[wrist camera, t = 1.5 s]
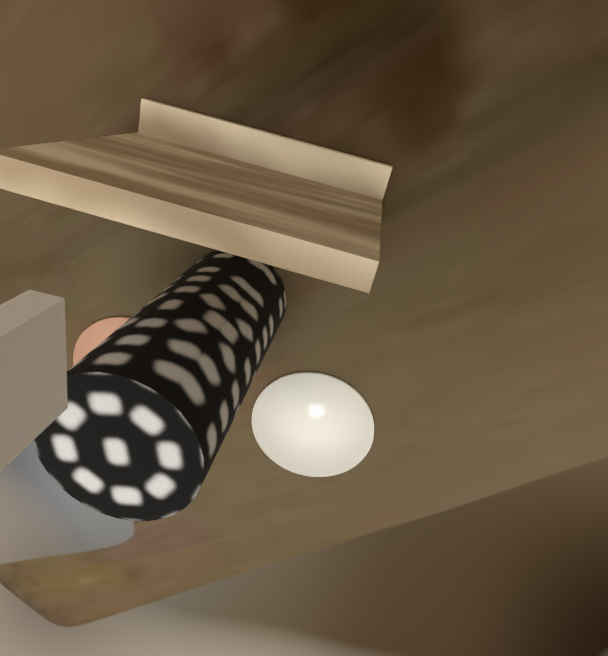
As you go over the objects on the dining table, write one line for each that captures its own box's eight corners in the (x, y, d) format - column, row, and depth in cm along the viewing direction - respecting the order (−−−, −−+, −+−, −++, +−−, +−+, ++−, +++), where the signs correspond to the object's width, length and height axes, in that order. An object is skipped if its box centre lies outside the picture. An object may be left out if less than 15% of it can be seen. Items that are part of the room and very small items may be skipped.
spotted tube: (288, 344, 42) (214, 528, 24) (194, 341, 43) (55, 513, 25) (283, 247, 38) (191, 375, 20) (180, 247, 40) (9, 367, 22)
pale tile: (266, 356, 43) (265, 358, 42) (390, 392, 42) (390, 395, 42) (242, 454, 47) (241, 456, 47) (354, 487, 47) (354, 490, 47)
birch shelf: (147, 98, 35) (-17, 96, 21) (392, 165, 35) (395, 210, 20) (139, 182, 38) (-12, 231, 24) (367, 246, 37) (354, 337, 23)
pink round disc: (78, 301, 43) (75, 302, 43) (199, 336, 43) (197, 338, 42) (73, 403, 48) (71, 405, 48) (182, 436, 48) (180, 438, 47)
